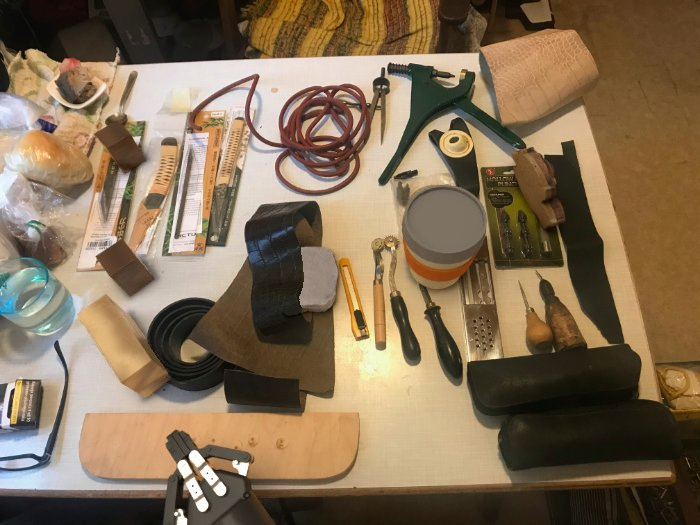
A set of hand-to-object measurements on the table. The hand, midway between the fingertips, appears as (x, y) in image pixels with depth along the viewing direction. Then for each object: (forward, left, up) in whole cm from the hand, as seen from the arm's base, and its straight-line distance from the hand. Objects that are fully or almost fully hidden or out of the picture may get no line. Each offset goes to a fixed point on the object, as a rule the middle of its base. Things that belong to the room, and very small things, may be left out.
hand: (172, 434), depth 66 cm
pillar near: (+7, +31, -11) cm, 34 cm away
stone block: (+29, +10, -11) cm, 33 cm away
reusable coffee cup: (+47, -2, -11) cm, 49 cm away
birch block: (0, +19, -11) cm, 22 cm away
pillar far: (+20, +56, -11) cm, 60 cm away
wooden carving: (+70, -4, -11) cm, 71 cm away
